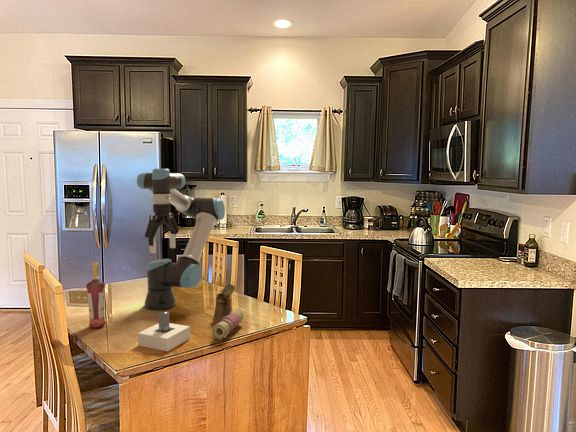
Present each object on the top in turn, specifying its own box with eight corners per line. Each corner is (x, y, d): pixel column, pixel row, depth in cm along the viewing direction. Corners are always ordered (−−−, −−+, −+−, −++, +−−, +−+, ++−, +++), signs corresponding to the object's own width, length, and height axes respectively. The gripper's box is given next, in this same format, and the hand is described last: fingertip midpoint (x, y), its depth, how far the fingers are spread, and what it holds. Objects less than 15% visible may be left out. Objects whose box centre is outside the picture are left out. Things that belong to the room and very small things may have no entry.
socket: (138, 345, 168) (137, 333, 167) (162, 333, 181) (162, 321, 180) (167, 351, 162) (167, 338, 162) (190, 338, 175) (189, 326, 175)
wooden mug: (221, 326, 189) (220, 285, 188) (210, 317, 201) (210, 279, 199) (240, 322, 194) (239, 283, 192) (228, 314, 206) (228, 276, 204)
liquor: (105, 328, 186) (103, 264, 183) (87, 330, 184) (84, 265, 181) (107, 322, 193) (105, 260, 190) (89, 324, 191) (86, 261, 188)
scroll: (226, 319, 194) (205, 335, 175) (233, 305, 192) (212, 319, 173) (241, 328, 192) (221, 345, 173) (247, 313, 190) (228, 329, 171)
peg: (157, 342, 170) (156, 313, 169) (163, 339, 174) (163, 310, 173) (165, 344, 169) (164, 314, 168) (171, 341, 173) (171, 311, 171)
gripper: (149, 205, 180) (150, 255, 183) (185, 201, 203) (186, 246, 205) (135, 205, 183) (136, 254, 186) (172, 201, 206) (173, 245, 208)
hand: (163, 250), depth 195 cm, fingers open, 13 cm apart
